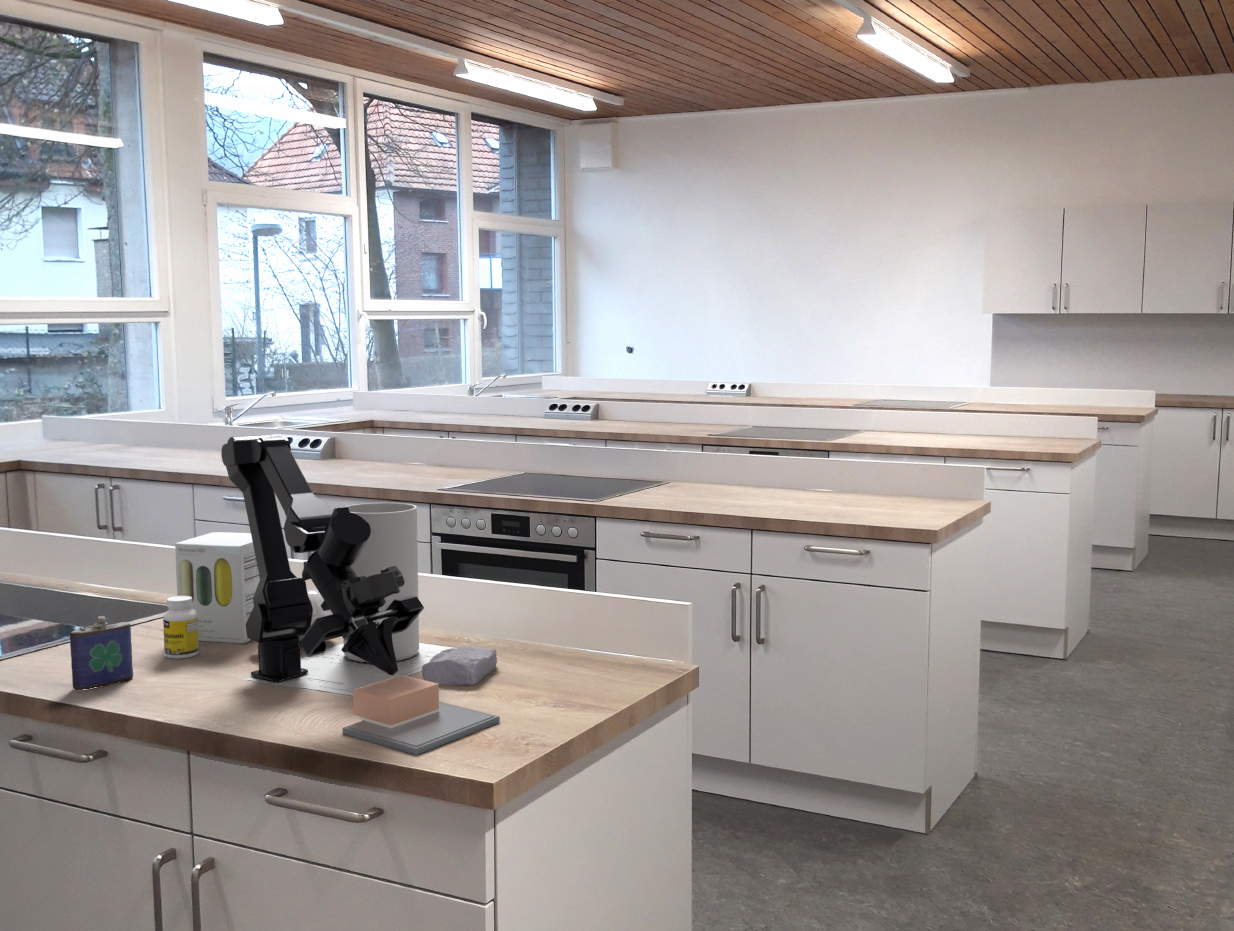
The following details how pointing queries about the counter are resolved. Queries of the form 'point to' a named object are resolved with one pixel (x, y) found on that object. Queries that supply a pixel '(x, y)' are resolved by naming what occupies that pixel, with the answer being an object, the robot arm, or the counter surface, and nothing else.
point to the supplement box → (219, 583)
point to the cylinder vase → (391, 561)
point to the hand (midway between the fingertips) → (394, 672)
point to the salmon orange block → (395, 701)
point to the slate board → (425, 729)
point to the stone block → (460, 665)
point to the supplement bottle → (180, 628)
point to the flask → (101, 654)
